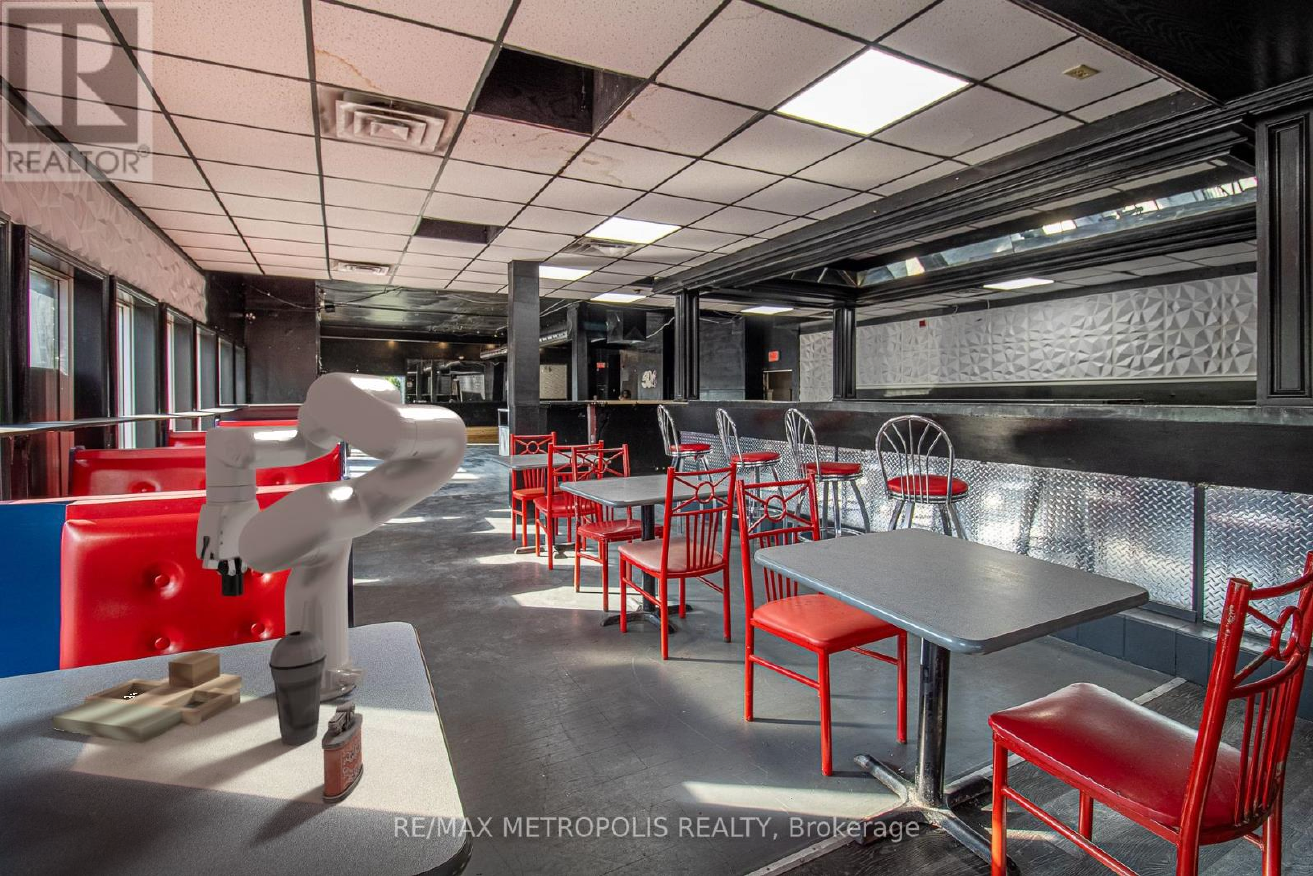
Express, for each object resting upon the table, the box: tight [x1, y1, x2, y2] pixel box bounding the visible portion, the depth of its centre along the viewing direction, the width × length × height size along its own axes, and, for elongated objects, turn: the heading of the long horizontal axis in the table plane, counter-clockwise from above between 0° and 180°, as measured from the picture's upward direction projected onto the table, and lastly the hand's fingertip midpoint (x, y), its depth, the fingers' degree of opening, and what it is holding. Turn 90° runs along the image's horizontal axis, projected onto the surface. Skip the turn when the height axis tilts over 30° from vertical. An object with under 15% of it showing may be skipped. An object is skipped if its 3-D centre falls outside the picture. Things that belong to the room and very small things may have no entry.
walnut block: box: [168, 650, 221, 688], centre depth 109 cm, size 5×5×4 cm
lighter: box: [321, 700, 365, 806], centre depth 81 cm, size 8×3×10 cm, turn 5°
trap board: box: [52, 673, 243, 744], centre depth 103 cm, size 22×19×2 cm
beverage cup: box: [268, 601, 326, 746], centre depth 93 cm, size 7×7×20 cm
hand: (232, 595), depth 117 cm, fingers closed
